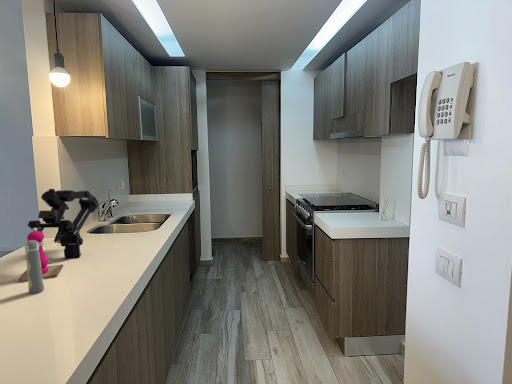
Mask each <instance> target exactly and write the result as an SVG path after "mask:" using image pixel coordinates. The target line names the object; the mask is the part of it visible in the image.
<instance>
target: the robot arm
mask: <svg viewBox="0 0 512 384" xmlns="http://www.w3.org/2000/svg"><path fill="white" fill-rule="evenodd" d="M40 197H41V200H43V202H45V204H46V205H47V206H48V207H50V210H39V212H38V217H37V218H38V219H42V221H43V222H41V221H40V220H29V221H28V223H27V227H28V228H30V229H31V230H32V229H33V228H37V231H40V232H42V233H43V231H44V229H46V228H48V229H49V228H51V229H52V228H53V229H54V228H55V229H56V228H57V232H56V235H55V236H54V240H53V242H54V243H57V242H58V241H59V243H60V246H61V247H64V249H63V254H64V260H69V259H79V258H81V255H82V252H81V246H82V245H83V244H84V239H83V238H82V236H81V234H80V231H81V229H82V228H83V226H84V224H85V222H86V221H87V220H88V218H89V216H90V214H91V213H94V212H95V211H96V210H97V209H98V207H99V205H100V204H99V201H98V199H97V197H95V196H94V195H93V194H91V193H90V191H89V190H78V191H74V190H70V189H65V190H64V189H63V190H55V189H54V188H49V189H48V190H47V191H45V192H43V193H42V195H41V196H40ZM76 199H79V200H78V203H79V206H80V210H79V212H78V213H77V215H76V217H75V218H74V220H73V221H71V220H70V219H65V216H64V215H65V213H66V210H67V211H68V210H69V209H70V208H69V206H68V204H67V203H71V202H73V201H74V200H76ZM43 234H44V233H43Z"/></svg>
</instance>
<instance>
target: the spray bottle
mask: <svg viewBox="0 0 512 384" xmlns="http://www.w3.org/2000/svg"><path fill="white" fill-rule="evenodd" d="M24 249H25V251H24V252H25V260H26V270H27V276H28V281H27V282H28V293H29V294H32V295H35V294H39V293H41V292H44V290H45V285H44V282H43V281H44V279H43V278H42V269H41V262H40V252H39V247H38V242H37V241H36V240H31V241H28V240H27V241H26V242H25V243H24Z"/></svg>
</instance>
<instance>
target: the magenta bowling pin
mask: <svg viewBox="0 0 512 384" xmlns="http://www.w3.org/2000/svg"><path fill="white" fill-rule="evenodd" d="M31 230H32V231H30V232H29V233H28V234H27V236H26V239H27V241H31V240H36V241H37V242H38V247H39V252H40V262H41V269H42V274H45V273H47V272H48V267H46V266H49V259H48V257H47V255H46V254H45V252H44V249H43V246H44V239H45V235H44V233H42V232H43V231H42V232H40V231H37V228H33V229H31Z"/></svg>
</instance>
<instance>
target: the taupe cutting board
mask: <svg viewBox="0 0 512 384" xmlns="http://www.w3.org/2000/svg"><path fill="white" fill-rule="evenodd" d="M46 267H48V272H47V273H45V274H42V278H43V280H48V279H53V278H57V277H58V276H59V275H60V273H61V271H62V270H63V268H64V264H54V265H47V266H46ZM23 282H25V283H26V282H28V276H27V269H26V270H25V271H24V272H23V273H22V274H21V275H20V276H19V277H18V278H17V283H23Z"/></svg>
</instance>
